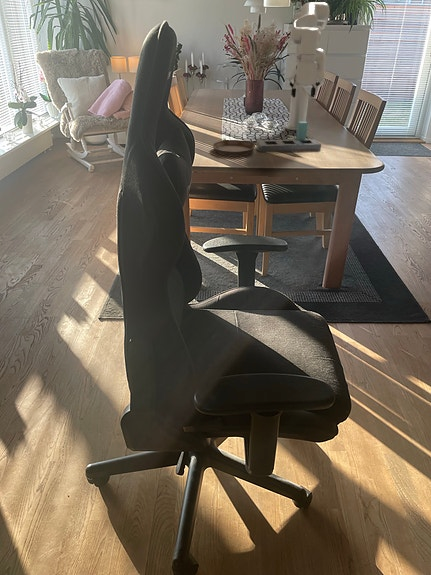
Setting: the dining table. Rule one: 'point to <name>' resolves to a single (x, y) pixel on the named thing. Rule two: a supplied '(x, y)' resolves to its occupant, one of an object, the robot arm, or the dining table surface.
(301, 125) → the square block
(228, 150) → the plant saucer
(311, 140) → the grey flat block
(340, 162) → the dining table surface
